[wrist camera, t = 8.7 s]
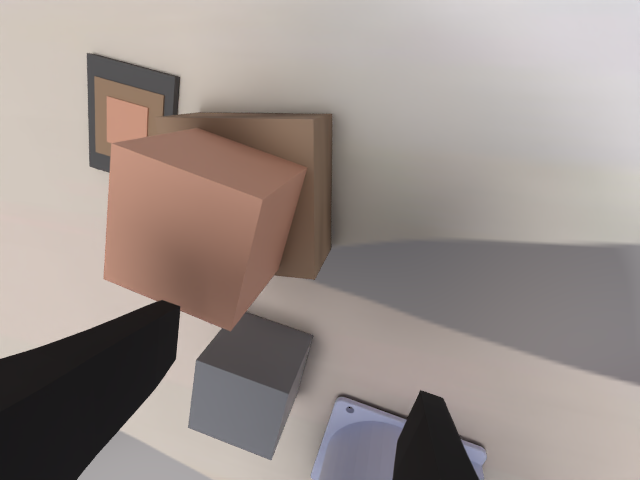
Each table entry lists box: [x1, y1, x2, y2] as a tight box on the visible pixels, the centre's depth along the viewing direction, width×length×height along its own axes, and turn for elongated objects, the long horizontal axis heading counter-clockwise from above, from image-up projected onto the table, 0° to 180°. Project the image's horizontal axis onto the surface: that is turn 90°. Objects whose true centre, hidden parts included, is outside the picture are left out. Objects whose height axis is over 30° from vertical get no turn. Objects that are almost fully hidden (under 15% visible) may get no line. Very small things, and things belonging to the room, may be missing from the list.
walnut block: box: [155, 113, 332, 280], centre depth 19 cm, size 7×7×4 cm
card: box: [87, 53, 180, 173], centre depth 20 cm, size 5×6×1 cm
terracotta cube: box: [104, 128, 308, 331], centre depth 15 cm, size 5×5×5 cm
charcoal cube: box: [188, 312, 313, 460], centre depth 22 cm, size 5×5×5 cm
